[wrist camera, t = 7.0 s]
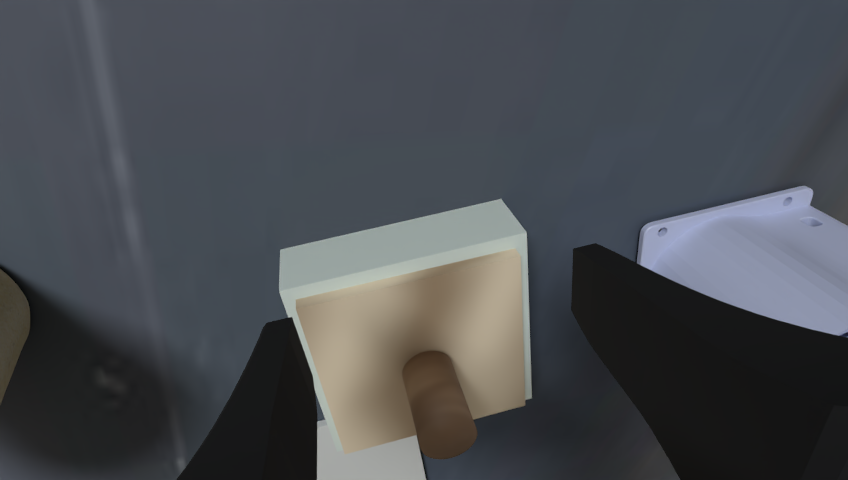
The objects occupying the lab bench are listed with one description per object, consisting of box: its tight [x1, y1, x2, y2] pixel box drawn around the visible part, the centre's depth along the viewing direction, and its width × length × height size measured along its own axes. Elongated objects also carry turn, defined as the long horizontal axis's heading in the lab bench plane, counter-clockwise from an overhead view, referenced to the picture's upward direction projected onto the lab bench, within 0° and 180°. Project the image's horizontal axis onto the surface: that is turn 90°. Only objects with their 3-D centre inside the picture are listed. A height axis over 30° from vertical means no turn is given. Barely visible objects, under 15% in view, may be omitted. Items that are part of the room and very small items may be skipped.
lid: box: [296, 248, 525, 459], centre depth 21 cm, size 9×9×5 cm
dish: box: [279, 199, 532, 452], centre depth 25 cm, size 10×10×3 cm
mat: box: [317, 419, 426, 480], centre depth 31 cm, size 10×10×1 cm
